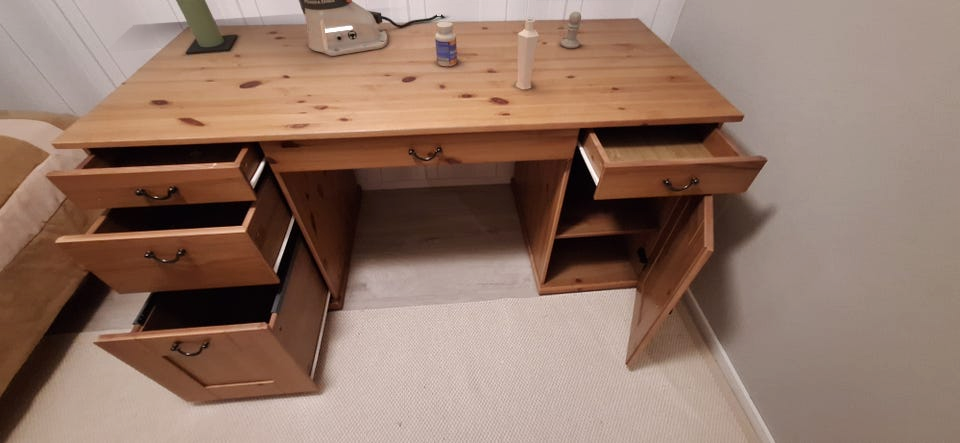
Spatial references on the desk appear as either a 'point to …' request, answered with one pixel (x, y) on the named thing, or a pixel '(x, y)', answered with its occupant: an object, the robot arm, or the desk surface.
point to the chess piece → (572, 31)
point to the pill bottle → (446, 44)
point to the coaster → (222, 47)
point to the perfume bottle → (526, 54)
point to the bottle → (201, 22)
